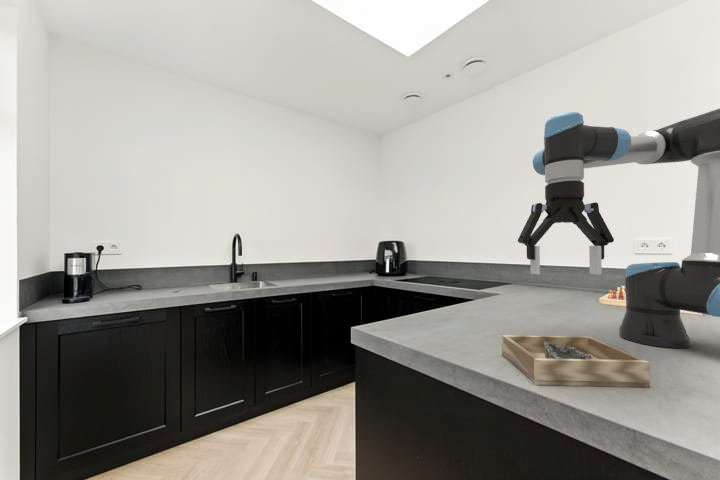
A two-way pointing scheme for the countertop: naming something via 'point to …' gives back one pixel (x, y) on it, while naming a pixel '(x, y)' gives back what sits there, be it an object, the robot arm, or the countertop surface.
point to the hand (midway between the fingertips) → (565, 274)
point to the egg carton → (563, 352)
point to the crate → (575, 362)
